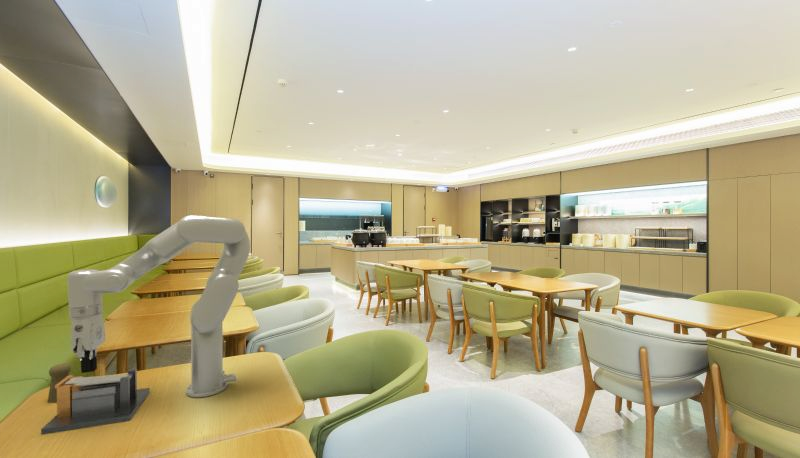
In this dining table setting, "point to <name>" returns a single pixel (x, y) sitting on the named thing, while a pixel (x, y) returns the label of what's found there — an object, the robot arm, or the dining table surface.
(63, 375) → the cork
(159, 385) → the dining table surface
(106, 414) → the heat sink base
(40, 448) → the dining table surface
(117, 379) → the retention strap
